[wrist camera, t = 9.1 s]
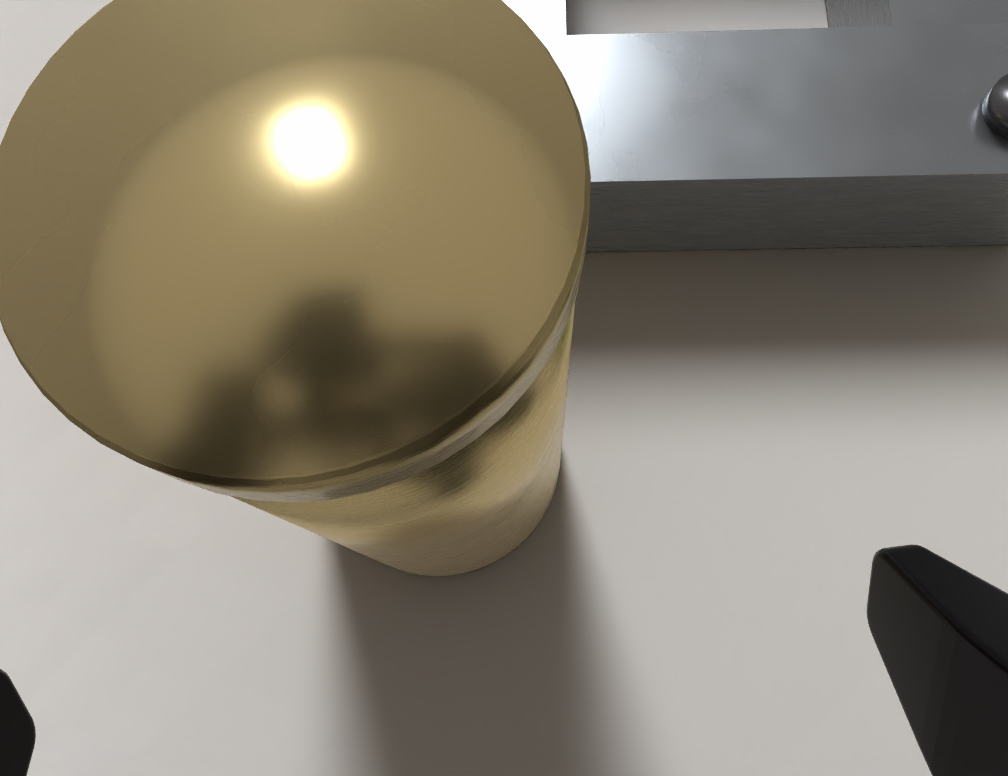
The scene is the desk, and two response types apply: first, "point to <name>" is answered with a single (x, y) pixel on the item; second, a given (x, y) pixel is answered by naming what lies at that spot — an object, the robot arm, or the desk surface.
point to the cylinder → (308, 260)
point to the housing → (795, 129)
